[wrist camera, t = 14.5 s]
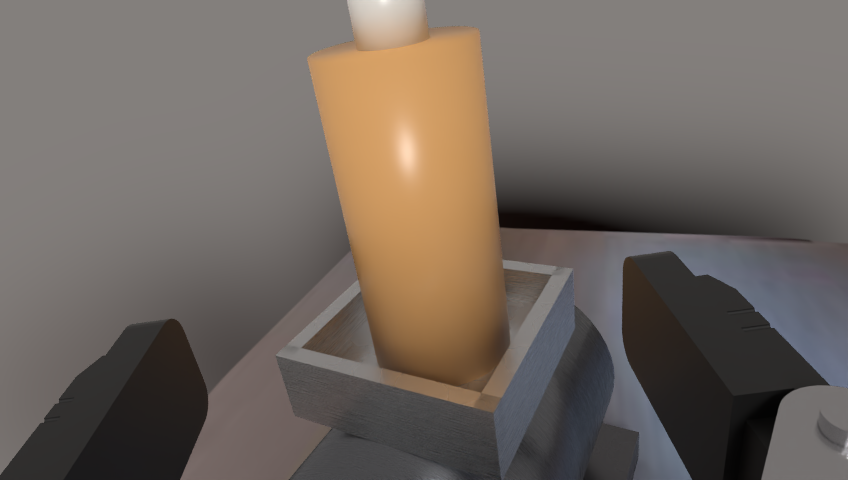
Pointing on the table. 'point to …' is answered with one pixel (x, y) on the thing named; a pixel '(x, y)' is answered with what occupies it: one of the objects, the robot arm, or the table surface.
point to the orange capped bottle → (417, 188)
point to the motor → (463, 398)
